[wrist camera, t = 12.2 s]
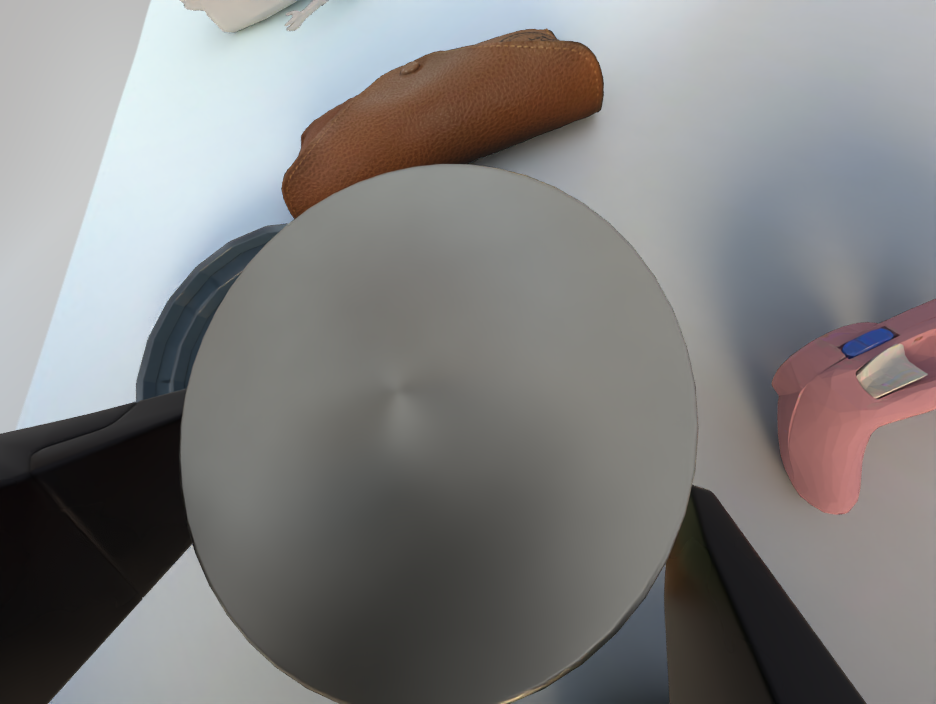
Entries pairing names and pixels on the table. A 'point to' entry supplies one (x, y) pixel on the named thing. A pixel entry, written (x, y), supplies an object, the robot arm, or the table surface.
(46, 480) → the robot arm
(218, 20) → the woman figurine
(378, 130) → the sunglasses case
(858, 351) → the video game controller
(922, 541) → the table surface
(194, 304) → the plate
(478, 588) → the tea tin
